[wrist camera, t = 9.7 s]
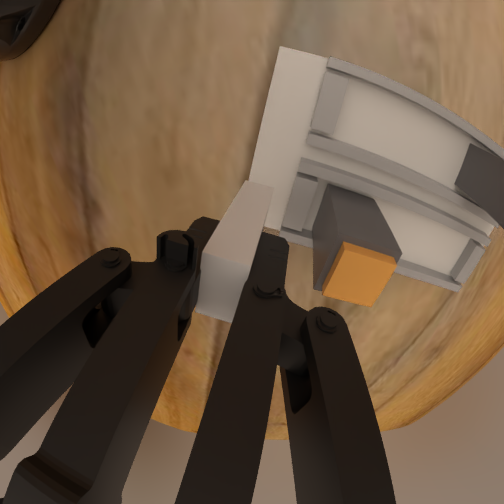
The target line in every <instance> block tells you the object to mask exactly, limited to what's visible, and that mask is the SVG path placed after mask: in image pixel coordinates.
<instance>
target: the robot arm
mask: <svg viewBox="0 0 504 504" xmlns="http://www.w3.org/2000/svg"><path fill="white" fill-rule="evenodd" d="M59 1H60V0H0V61H5V60H10V59H13V58H16V57H17V56H19V55H20V54H22V53H23V52H24V51H25V50H26V49H27V48H28V47H29V46H30V45H31V44H32V43H33V41H34V40H35V39H36V38H37V36H38V35H39V34H40V32H41V31H42V30H43V28H44V27H45V25H46V24H47V22H48V21H49V19H50V17H51V16H52V14H53V12H54V11H55V9H56V7H57V5H58V3H59ZM273 191H274V188H272V187H269V186H265V185H261V184H258V183H254V182H250V181H246V180H245V182H244V183H243V185H242V187H241V188H240V190H239V191H238V193H237V195H236V196H235V198H234V200H233V201H232V203H231V204H230V206H229V208H228V209H227V211H226V213H225V214H224V216H223V218H222V219H221V221H218V220H215V219H211V218H207V217H201V218H199V219H197V220H195V221H194V222H193V223H192V224H191V226H190V227H189V229H188V230H187V231H180V230H169V231H166V232H163V233H161V234H160V235H158V236H157V259H156V260H155V261H154V262H135V261H131V257H130V254H129V253H128V252H127V251H126V250H124V249H121V248H116V247H110V248H105V249H103V250H101V251H99V252H97V253H96V254H94V255H93V256H91V257H90V258H88V259H87V260H85V261H84V262H82V263H81V264H80V265H78V266H77V267H75V268H74V269H72V270H71V271H70V272H68V273H67V274H65V275H64V276H63V277H61V278H60V279H59V280H57V281H56V282H54V283H53V284H52V285H50V286H49V287H48V288H46V289H45V290H44V291H43V292H41V293H40V294H39V295H37V296H36V297H35V298H34V299H32V300H31V301H30V302H29V303H27V304H26V305H25V306H24V307H22V308H21V309H20V310H19V311H17V312H16V313H15V314H14V315H13V316H11V317H10V318H9V319H8V320H7V321H6V322H5V323H3V324H2V325H1V326H0V460H2V459H3V458H4V457H5V456H6V455H7V454H8V453H9V452H10V451H11V450H12V449H13V448H14V447H15V446H16V445H17V443H18V442H19V441H20V440H21V439H22V438H23V437H24V435H25V434H26V433H27V432H28V431H29V430H30V429H31V428H32V427H33V426H34V424H35V423H36V422H37V421H38V420H39V419H40V418H41V417H42V416H43V414H45V412H46V411H47V410H48V409H49V408H50V407H51V406H52V405H53V404H54V403H55V402H56V401H57V400H58V399H59V397H60V396H61V395H62V394H63V393H64V392H65V391H66V390H67V389H68V388H69V387H70V386H71V385H72V384H73V385H72V387H71V389H70V390H69V392H68V394H67V396H66V398H65V399H64V401H63V403H62V405H61V407H60V409H59V411H58V413H57V414H56V416H55V418H54V420H53V422H52V424H51V426H50V428H49V430H48V432H47V434H46V436H45V438H44V440H43V442H42V445H41V447H40V448H39V450H38V451H37V453H35V454H34V455H32V456H29V457H27V458H24V459H23V460H22V461H21V462H20V463H19V464H18V465H17V467H16V469H15V471H14V473H13V475H12V478H11V481H10V483H9V486H8V488H7V491H6V494H5V497H4V498H0V504H121V503H122V497H121V495H122V491H123V488H124V485H125V482H126V479H127V477H128V474H129V471H130V469H131V466H132V463H133V461H134V458H135V456H136V453H137V451H138V448H139V446H140V443H141V440H142V438H143V435H144V433H145V430H146V428H147V425H148V423H149V420H150V418H151V415H152V413H153V411H154V408H155V406H156V403H157V401H158V398H159V396H160V394H161V391H162V389H163V386H164V384H165V382H166V379H167V377H168V374H169V372H170V370H171V367H172V365H173V363H174V360H175V358H176V356H177V353H178V351H179V349H180V346H181V344H182V342H183V340H184V337H185V335H186V333H187V330H188V328H189V326H190V324H191V318H192V312H193V310H194V307H195V305H196V310H195V312H197V313H200V314H203V315H206V316H210V317H213V318H216V319H219V320H223V321H226V322H230V323H232V324H231V327H230V331H229V334H228V337H227V340H226V343H225V346H224V350H223V353H222V356H221V359H220V362H219V365H218V369H217V372H216V375H215V378H214V381H213V384H212V388H211V391H210V394H209V397H208V400H207V403H206V407H205V410H204V413H203V416H202V419H201V422H200V426H199V429H198V432H197V435H196V438H195V441H194V444H193V448H192V451H191V454H190V457H189V460H188V463H187V467H186V470H185V473H184V476H183V479H182V482H181V485H180V488H179V492H178V495H177V498H176V501H175V504H251V502H252V497H253V492H254V488H255V484H256V479H257V474H258V469H259V464H260V459H261V454H262V449H263V444H264V439H265V433H266V428H267V422H268V417H269V411H270V405H271V399H272V393H273V387H274V381H275V374H276V368H277V365H279V366H280V373H281V381H282V388H283V395H284V403H285V411H286V418H287V426H288V434H289V441H290V449H291V458H292V464H293V474H294V482H295V491H296V499H297V504H396V501H395V496H394V490H393V485H392V480H391V476H390V471H389V466H388V463H387V458H386V454H385V449H384V446H383V441H382V437H381V434H380V430H379V426H378V422H377V419H376V415H375V412H374V408H373V405H372V401H371V398H370V394H369V391H368V388H367V384H366V381H365V378H364V375H363V372H362V368H361V365H360V362H359V359H358V356H357V353H356V350H355V347H354V344H353V341H352V338H351V336H350V333H349V330H348V327H347V324H346V322H345V321H344V319H343V317H342V316H341V315H339V314H338V313H337V312H336V311H334V310H332V309H330V308H326V307H315V308H313V309H311V310H310V311H309V312H308V311H306V310H304V309H302V308H301V307H299V306H297V305H296V304H294V303H293V302H292V301H291V300H290V299H289V298H288V296H287V295H286V290H285V289H284V284H285V276H286V268H287V260H288V252H289V245H288V243H287V241H286V239H285V238H282V237H279V236H275V235H272V234H268V233H265V232H262V231H263V228H264V224H265V221H266V217H267V213H268V210H269V206H270V202H271V199H272V195H273ZM100 302H101V303H100Z"/></svg>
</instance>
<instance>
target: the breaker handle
mask: <svg viewBox="0 0 504 504" xmlns="http://www.w3.org/2000/svg"><path fill="white" fill-rule="evenodd" d="M312 233H313V289H315V290H318V291H322V295H324V296H328V297H332V298H336V299H339V300H343V301H347V302H351V303H355V304H360V305H364V306H368V307H372V305H373V304H374V302H375V301H376V299H377V298H378V296H379V295H380V293H381V292H382V290H383V288H384V287H385V285H386V284H387V282H388V280H389V279H390V277H391V276H392V274H393V272H394V271H395V269H396V267H397V262H398V261H399V259H400V257H401V255H402V254H403V253H402V251H401V249H400V247H399V245H398V243H397V241H396V239H395V237H394V235H393V233H392V231H391V229H390V227H389V225H388V223H387V221H386V220H385V218H384V216H383V214H382V212H381V210H380V209H379V207H378V205H377V203H376V202H375V200H374V199H373V198H370V197H367V196H364V195H361V194H359V193H356V192H353V191H350V190H347V189H344V188H341V187H338V186H335V185H332V184H329V183H328V184H327V187H326V190H325V193H324V196H323V198H322V201H321V204H320V207H319V210H318V213H317V215H316V218H315V221H314V224H313V226H312Z"/></svg>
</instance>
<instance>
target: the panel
mask: <svg viewBox="0 0 504 504" xmlns="http://www.w3.org/2000/svg"><path fill="white" fill-rule="evenodd" d="M249 181H250V182H254V183H258V184H261V185H265V186H269V187H272V188H274V191H273V195H272V199H271V202H270V206H269V210H268V213H267V217H266V221H265V224H264V226H265V227H268V228H272V229H275V230H279V237H282V238H285V239H286V241H288V242H292V243H295V244H299V245H303V246H306V247H310V248H313V233H312V226H313V224H314V221H315V218H316V215H317V213H318V210H319V207H320V204H321V201H322V198H323V196H324V193H325V190H326V187H327V184H328V183H329V184H332V185H335V186H338V187H341V188H344V189H347V190H350V191H353V192H356V193H359V194H361V195H364V196H367V197H370V198H373V199H374V200H375V202H376V203H377V205H378V207H379V209H380V210H381V212H382V214H383V216H384V218H385V220H386V221H387V223H388V225H389V227H390V229H391V231H392V233H393V235H394V237H395V239H396V241H397V243H398V245H399V247H400V249H401V251H402V253H403V254H402V255H401V257H400V259H399V261H398V262H397V267H396V269H395V271H394V272H395V273H398V274H401V275H404V276H408V277H411V278H414V279H417V280H420V281H424V282H427V283H430V284H433V285H436V286H439V287H443V288H446V289H449V290H452V291H455V292H459V290H460V289H461V288H462V286H461V284H460V283H463V284H464V283H465V282H466V280H467V279H468V277H469V276H470V274H471V273H472V271H473V270H474V268H475V267H476V265H477V264H478V262H479V260H480V259H481V257H482V255H483V254H484V252H485V249H484V247H483V246H484V245H485V246H487V247H488V245H489V243H490V242H491V239H490V238H489V235H490V233H491V232H492V230H493V228H494V226H495V227H496V228H498V227H499V225H500V226H501V227H502V228H503V229H504V149H503V148H502V147H500V146H499V145H498V144H497V143H496V142H494V141H493V140H492V139H490V138H489V137H488V136H487V135H485V134H484V133H483V132H481V131H480V130H479V129H477V128H476V127H474V126H473V125H471V124H470V123H469V122H467V121H466V120H464V119H463V118H461V117H460V116H458V115H457V114H455V113H453V112H452V111H450V110H449V109H447V108H445V107H444V106H442V105H440V104H439V103H437V102H435V101H433V100H432V99H430V98H428V97H426V96H424V95H423V94H421V93H419V92H417V91H415V90H413V89H411V88H409V87H407V86H405V85H403V84H401V83H399V82H396V81H394V80H392V79H390V78H388V77H385V76H383V75H381V74H378V73H376V72H373V71H371V70H368V69H366V68H363V67H361V66H358V65H355V64H352V63H350V62H347V61H344V60H341V59H338V58H335V57H331V56H330V57H329V58H325V57H322V56H318V55H315V54H311V53H307V52H303V51H299V50H295V49H291V48H286V47H281V46H280V49H279V53H278V57H277V61H276V65H275V69H274V73H273V77H272V81H271V85H270V89H269V93H268V98H267V102H266V106H265V110H264V115H263V119H262V123H261V127H260V132H259V136H258V141H257V145H256V149H255V154H254V158H253V163H252V167H251V172H250V176H249Z"/></svg>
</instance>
